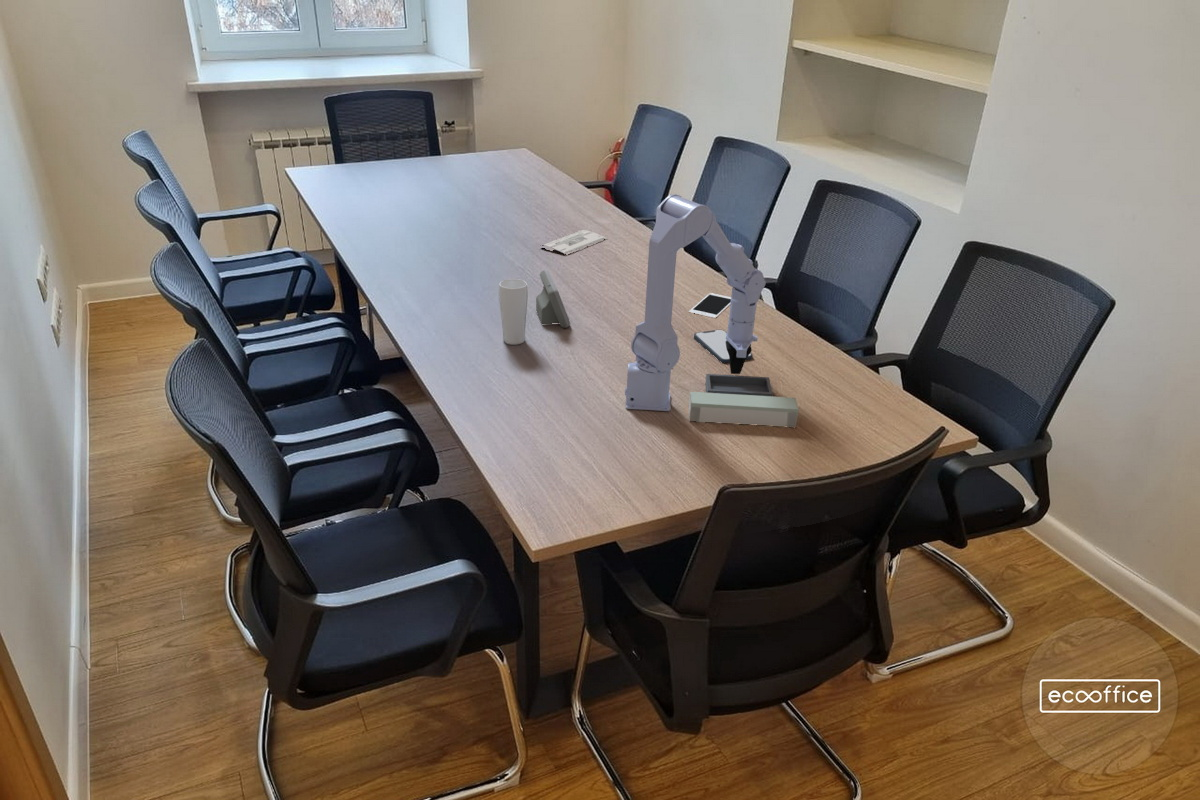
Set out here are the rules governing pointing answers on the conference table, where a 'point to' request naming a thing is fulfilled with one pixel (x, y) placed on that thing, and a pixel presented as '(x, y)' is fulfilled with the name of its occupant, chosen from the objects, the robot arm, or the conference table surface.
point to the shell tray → (738, 385)
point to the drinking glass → (513, 310)
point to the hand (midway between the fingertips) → (735, 372)
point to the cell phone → (711, 305)
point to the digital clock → (550, 303)
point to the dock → (743, 409)
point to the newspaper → (575, 241)
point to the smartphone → (715, 344)
